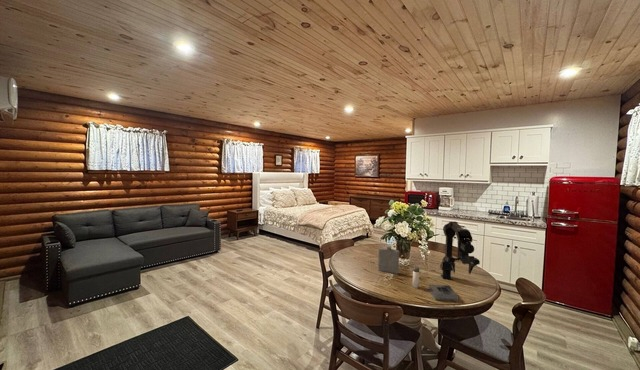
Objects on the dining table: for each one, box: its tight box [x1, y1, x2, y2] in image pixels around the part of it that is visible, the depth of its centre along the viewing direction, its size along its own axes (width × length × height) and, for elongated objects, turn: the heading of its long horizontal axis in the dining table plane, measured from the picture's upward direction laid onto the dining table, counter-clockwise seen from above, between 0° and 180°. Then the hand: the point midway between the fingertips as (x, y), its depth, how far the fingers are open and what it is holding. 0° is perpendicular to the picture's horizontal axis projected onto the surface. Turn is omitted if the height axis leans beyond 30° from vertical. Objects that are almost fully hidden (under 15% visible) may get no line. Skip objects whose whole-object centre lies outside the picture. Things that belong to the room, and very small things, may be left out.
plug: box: [411, 266, 420, 289], centre depth 182 cm, size 4×4×13 cm
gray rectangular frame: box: [428, 284, 459, 302], centre depth 170 cm, size 13×13×4 cm
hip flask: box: [377, 245, 400, 275], centre depth 208 cm, size 16×4×20 cm, turn 65°
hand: (461, 273), depth 170 cm, fingers open, 9 cm apart
